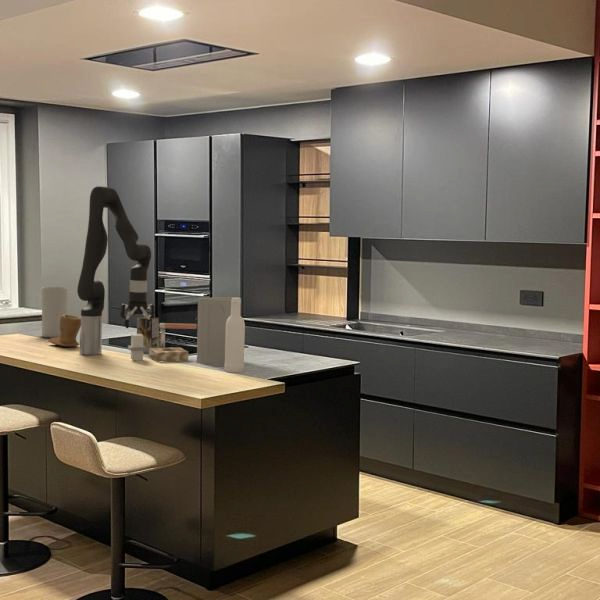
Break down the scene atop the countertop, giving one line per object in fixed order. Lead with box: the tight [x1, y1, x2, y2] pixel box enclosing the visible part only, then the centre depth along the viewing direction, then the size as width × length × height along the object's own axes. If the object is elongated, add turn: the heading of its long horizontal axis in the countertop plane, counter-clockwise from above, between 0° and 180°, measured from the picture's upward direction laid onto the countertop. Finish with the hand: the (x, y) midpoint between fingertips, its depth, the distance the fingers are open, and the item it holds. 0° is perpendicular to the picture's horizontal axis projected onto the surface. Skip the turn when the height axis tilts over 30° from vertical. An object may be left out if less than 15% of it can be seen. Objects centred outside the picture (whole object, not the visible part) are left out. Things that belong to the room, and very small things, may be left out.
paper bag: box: [196, 296, 242, 367], centre depth 368 cm, size 19×15×28 cm
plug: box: [127, 333, 146, 362], centre depth 371 cm, size 7×7×11 cm
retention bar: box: [160, 322, 198, 330], centre depth 386 cm, size 3×16×2 cm, turn 93°
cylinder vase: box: [41, 286, 68, 339], centre depth 439 cm, size 12×12×25 cm
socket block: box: [148, 347, 189, 363], centre depth 376 cm, size 14×14×4 cm
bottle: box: [224, 297, 246, 374], centre depth 349 cm, size 8×8×30 cm
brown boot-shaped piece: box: [47, 314, 81, 348], centre depth 406 cm, size 15×12×15 cm
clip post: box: [160, 328, 166, 348], centre depth 386 cm, size 5×5×12 cm
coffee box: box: [136, 316, 161, 354], centre depth 395 cm, size 9×6×16 cm
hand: (137, 328), depth 370 cm, fingers open, 8 cm apart
